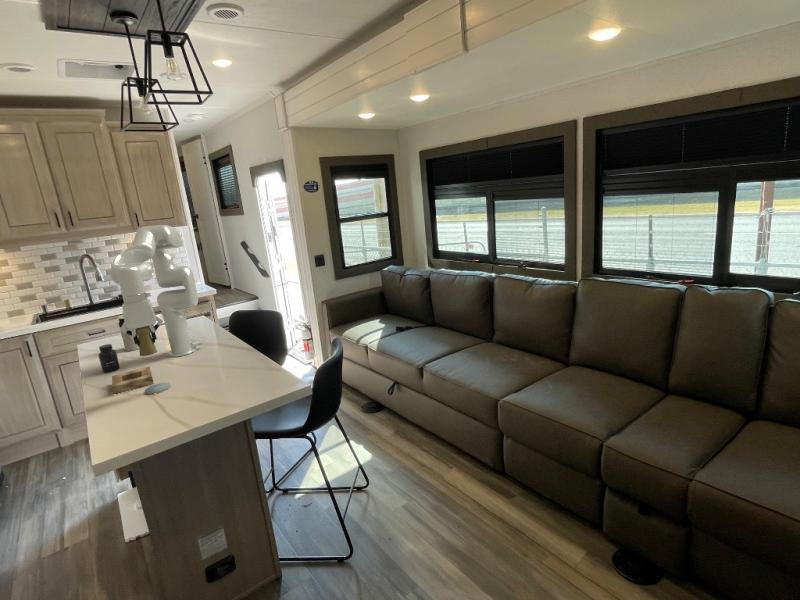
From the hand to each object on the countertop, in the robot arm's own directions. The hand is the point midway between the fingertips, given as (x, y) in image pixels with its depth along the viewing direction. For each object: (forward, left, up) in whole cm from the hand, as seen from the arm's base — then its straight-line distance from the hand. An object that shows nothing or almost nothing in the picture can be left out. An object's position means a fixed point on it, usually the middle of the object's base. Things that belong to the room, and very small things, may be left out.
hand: (146, 343), depth 166 cm
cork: (0, 0, -4) cm, 4 cm away
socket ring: (+8, -14, -20) cm, 26 cm away
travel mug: (+6, -69, -20) cm, 72 cm away
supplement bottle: (+16, -41, -20) cm, 48 cm away
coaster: (0, 0, -20) cm, 20 cm away
